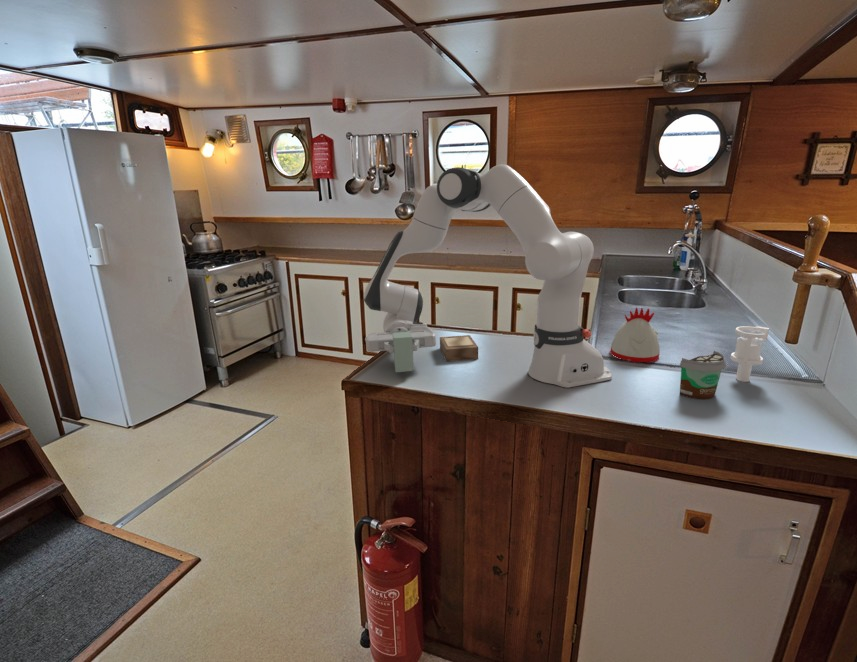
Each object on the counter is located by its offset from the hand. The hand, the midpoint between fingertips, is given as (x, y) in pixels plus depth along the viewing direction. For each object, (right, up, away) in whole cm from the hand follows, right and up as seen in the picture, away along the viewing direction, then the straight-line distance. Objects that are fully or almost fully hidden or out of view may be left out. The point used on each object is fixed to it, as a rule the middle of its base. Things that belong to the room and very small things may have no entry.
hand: (403, 349), depth 133 cm
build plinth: (+17, -2, +19) cm, 26 cm away
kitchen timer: (+71, -2, +15) cm, 72 cm away
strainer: (+91, -8, -5) cm, 92 cm away
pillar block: (0, -6, +3) cm, 6 cm away
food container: (+76, -11, -14) cm, 78 cm away
